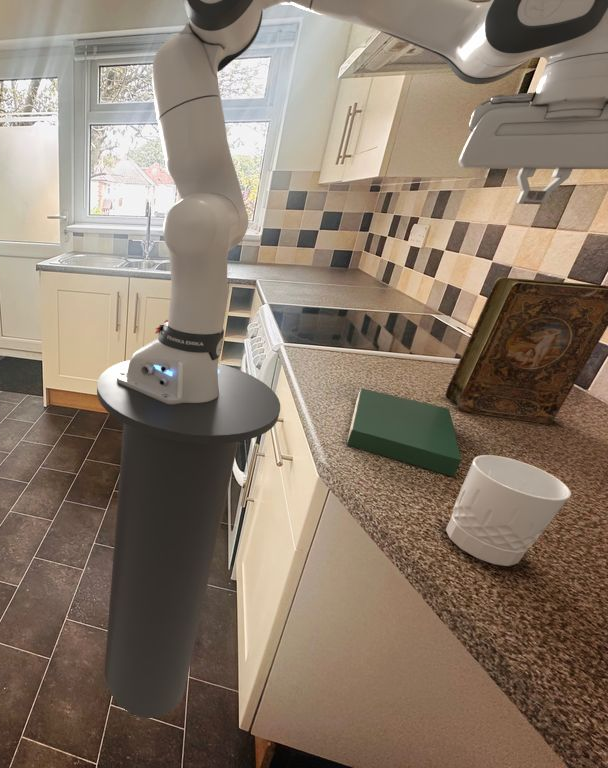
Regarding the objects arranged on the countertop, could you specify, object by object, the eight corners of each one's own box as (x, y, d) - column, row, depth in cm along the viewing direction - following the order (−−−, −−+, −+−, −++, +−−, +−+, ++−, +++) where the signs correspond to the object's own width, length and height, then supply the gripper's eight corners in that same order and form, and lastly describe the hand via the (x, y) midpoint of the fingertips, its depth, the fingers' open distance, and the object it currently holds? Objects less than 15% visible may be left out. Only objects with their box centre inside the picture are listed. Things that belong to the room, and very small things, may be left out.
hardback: (346, 444, 69) (351, 429, 67) (356, 401, 84) (360, 387, 83) (453, 476, 62) (461, 460, 60) (442, 423, 77) (449, 408, 76)
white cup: (423, 520, 53) (455, 454, 49) (481, 519, 53) (517, 454, 49) (479, 572, 46) (522, 500, 41) (545, 570, 46) (593, 499, 42)
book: (539, 412, 82) (609, 285, 72) (557, 425, 78) (636, 292, 67) (442, 398, 87) (496, 276, 76) (454, 410, 82) (513, 282, 71)
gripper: (482, 91, 57) (443, 200, 63) (713, 76, 47) (641, 208, 53) (475, 100, 62) (440, 201, 68) (684, 88, 52) (621, 207, 58)
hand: (530, 204), depth 61 cm, fingers closed
